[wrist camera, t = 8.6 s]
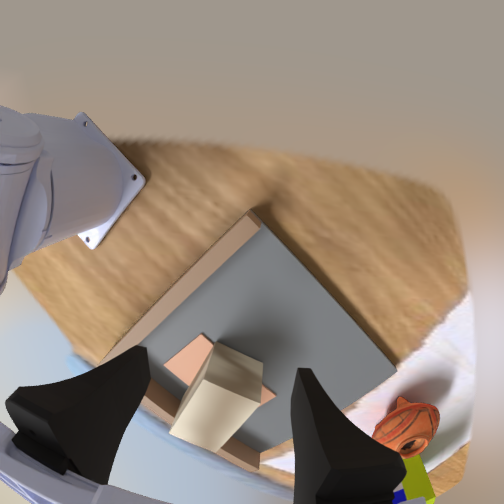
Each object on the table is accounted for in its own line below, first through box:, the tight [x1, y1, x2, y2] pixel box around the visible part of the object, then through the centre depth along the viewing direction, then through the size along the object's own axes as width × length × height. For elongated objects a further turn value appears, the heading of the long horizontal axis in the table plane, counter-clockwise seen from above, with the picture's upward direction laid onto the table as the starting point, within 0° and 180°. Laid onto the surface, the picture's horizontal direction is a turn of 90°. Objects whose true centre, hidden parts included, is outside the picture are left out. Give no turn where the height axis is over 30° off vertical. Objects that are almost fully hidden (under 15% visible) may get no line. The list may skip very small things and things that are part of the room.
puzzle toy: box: [392, 454, 436, 504], centre depth 24 cm, size 10×10×10 cm
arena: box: [98, 209, 397, 472], centre depth 23 cm, size 20×19×3 cm
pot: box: [372, 397, 440, 459], centre depth 23 cm, size 8×8×7 cm
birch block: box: [169, 341, 263, 453], centre depth 22 cm, size 4×8×5 cm, turn 152°
